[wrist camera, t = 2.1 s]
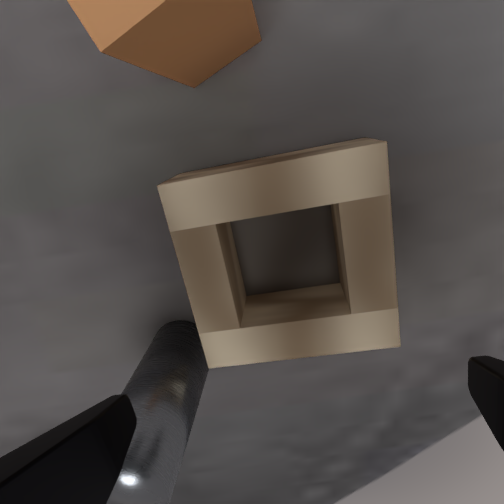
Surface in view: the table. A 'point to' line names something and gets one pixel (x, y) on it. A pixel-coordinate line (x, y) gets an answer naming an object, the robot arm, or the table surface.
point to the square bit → (171, 33)
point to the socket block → (288, 253)
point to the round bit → (162, 414)
